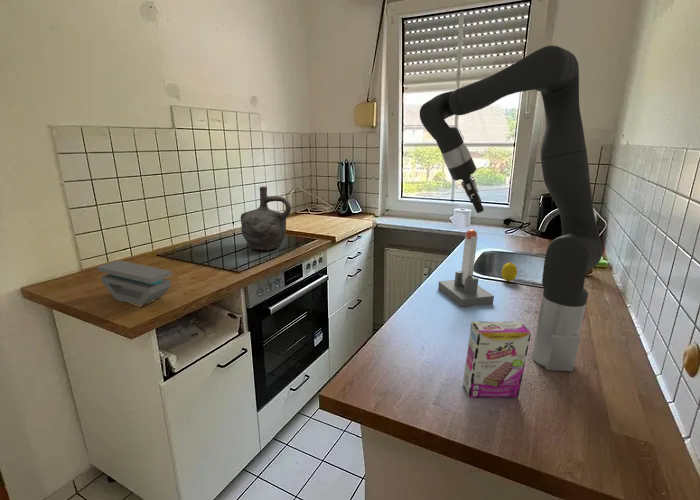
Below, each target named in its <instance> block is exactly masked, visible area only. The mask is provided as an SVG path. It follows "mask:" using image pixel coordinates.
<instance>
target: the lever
mask: <svg viewBox="0 0 700 500" xmlns="http://www.w3.org/2000/svg"><path fill="white" fill-rule="evenodd" d="M464 236H465V237H464V245H463V253H462V254H463V255H462V262H461V270H460V271H461V279H460V283H461V284H462V285H463V286H465V278H472V277H474V276H473V275H474V268H475V259H476V250H477V243H478V233H477V231H476V230H475V229H469V230H467V231H466V233H465V235H464Z"/></svg>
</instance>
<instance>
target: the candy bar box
mask: <svg viewBox="0 0 700 500" xmlns="http://www.w3.org/2000/svg"><path fill="white" fill-rule="evenodd" d="M470 324H471V325H470V329H469V330H470V331H469V338H468V342H467V343H468V344H467V352H466V357H465V366H464V371H463V372H464V373H463V380H462V386H463V388H464V390H465V392H466V394H467V396H468V398H469V399H471V398H472V399H473V398H475V399H476V398H478V399H481V398H484V399H485V398H486V399H487V398H488V399H489V398H495V399H497V398H503V399H504V398H508V399H509V398H519V394H520V389H521V384H522V381H523V374H524V370H525V365H526V360H527V354H528V351H529V350H528V349H529V346H530V341H531V335H532V332H531V331H530V330H529V328H527V327H526V325H524V324H523V323H522V321H471V323H470Z"/></svg>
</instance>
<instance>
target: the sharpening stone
mask: <svg viewBox="0 0 700 500" xmlns="http://www.w3.org/2000/svg"><path fill="white" fill-rule="evenodd" d="M96 269H97V272H100V273H104V274H105V275H102V276H101V277H100V278H101V283H102V285H104V286H105V288H106V289H107V290H108V292H109V293H110V294H111V296H112V297H113V298H114V299H115V300H119V301H118V302H120V301H124V302H128V303H133V304H137V305H144V304H146V303H148V302H150V301H152V300H155V299H157V298H159V297H161V298H162V297H163V296H164V295H165V294H166V292H167V291H168V290H169V289H170V288H171V287H172V286H171V285H172V284H171V280H170V279H167V278H170V277H171V276H172V275H173V274H172V270H168V269H163V268H157V267H154V266H150V265H144V264H139V263H134V262H131V261H130V262H129V261H124V260H122V259H119V260H116V261H115V260H114V261H112V262H108V263H106V264H102V265H98V266H96ZM159 299H160V298H159ZM157 300H158V299H157ZM155 301H156V300H155ZM124 302H123V303H124ZM150 303H151V302H150ZM148 304H149V303H148ZM146 305H147V304H146ZM144 306H145V305H144Z"/></svg>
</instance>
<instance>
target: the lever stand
mask: <svg viewBox="0 0 700 500" xmlns="http://www.w3.org/2000/svg"><path fill="white" fill-rule="evenodd" d="M454 273H455V274H454V275H455V276H454V279H450V280H441V281H440V280H439V281H438V287H437V289H438V290H439V291H440V292H442V294H444V295H445V296H446V297H448V298H449V299H450V300H451V301H453V302H454V303H455V304H456V305H458V307H460V308H471V307H480V306H487V305H493V304H494V298H495V296H494V295H493V294H491V292H489V291H488V290H485V289H484V288H483V287H481V286H480V285H478V284H479V278H478V277H476V276H473V277H472V278H465V286H463V285H462V284H461V283H460V279H461V270H460V271H459V270H458V271H455V272H454Z"/></svg>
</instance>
